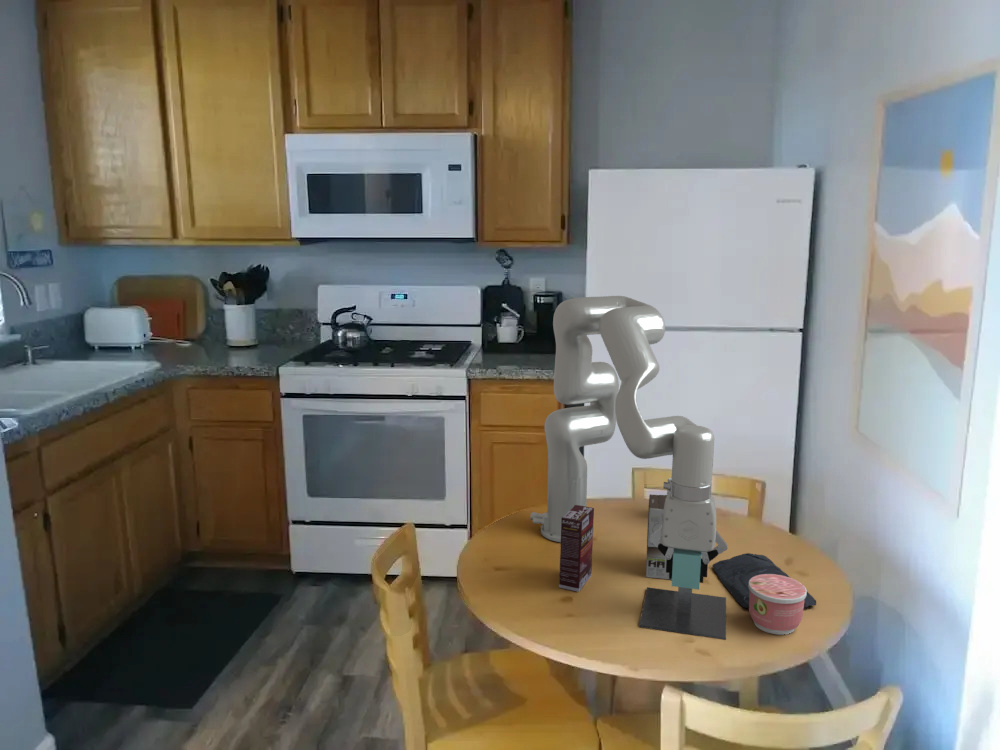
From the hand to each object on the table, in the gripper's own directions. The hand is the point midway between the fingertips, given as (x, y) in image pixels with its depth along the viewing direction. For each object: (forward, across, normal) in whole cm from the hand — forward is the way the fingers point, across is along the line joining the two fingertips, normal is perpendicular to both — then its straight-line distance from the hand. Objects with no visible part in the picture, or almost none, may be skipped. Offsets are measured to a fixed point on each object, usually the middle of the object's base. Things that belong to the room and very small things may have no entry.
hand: (686, 577), depth 154 cm
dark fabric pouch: (+8, +15, +16) cm, 23 cm away
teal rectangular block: (+1, 0, 0) cm, 1 cm away
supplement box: (+8, -23, +7) cm, 25 cm away
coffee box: (+8, -6, +18) cm, 21 cm away
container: (+8, +17, 0) cm, 19 cm away
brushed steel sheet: (+8, 0, 0) cm, 8 cm away
